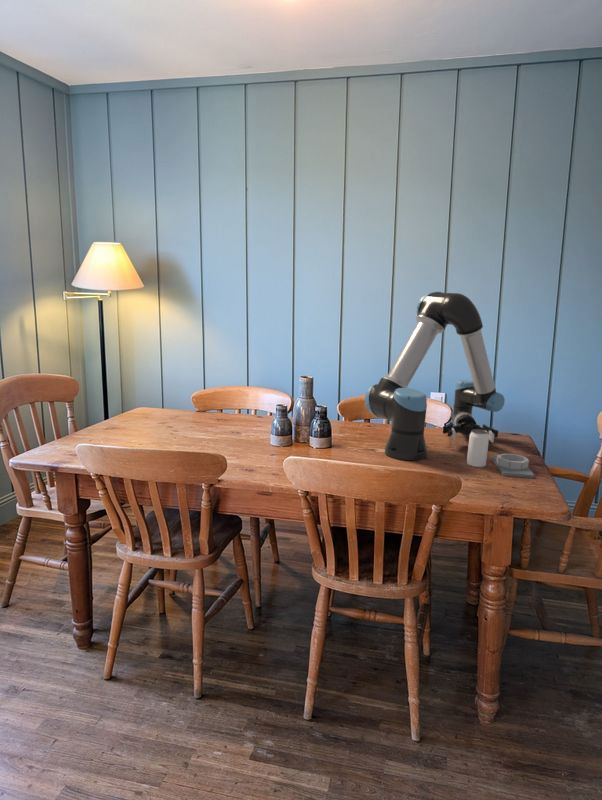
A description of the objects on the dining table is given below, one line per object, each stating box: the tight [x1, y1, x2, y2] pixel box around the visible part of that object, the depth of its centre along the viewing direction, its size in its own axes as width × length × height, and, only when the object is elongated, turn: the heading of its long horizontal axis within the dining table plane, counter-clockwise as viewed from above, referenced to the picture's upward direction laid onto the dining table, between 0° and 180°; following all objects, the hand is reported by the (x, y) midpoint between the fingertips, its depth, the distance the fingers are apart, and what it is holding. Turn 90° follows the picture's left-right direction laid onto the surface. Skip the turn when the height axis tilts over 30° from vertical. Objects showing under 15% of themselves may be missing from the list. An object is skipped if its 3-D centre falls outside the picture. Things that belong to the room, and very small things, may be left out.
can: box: [466, 429, 490, 468], centre depth 203 cm, size 6×6×12 cm
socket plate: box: [491, 453, 535, 479], centre depth 203 cm, size 10×20×4 cm, turn 173°
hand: (473, 437), depth 214 cm, fingers open, 13 cm apart
